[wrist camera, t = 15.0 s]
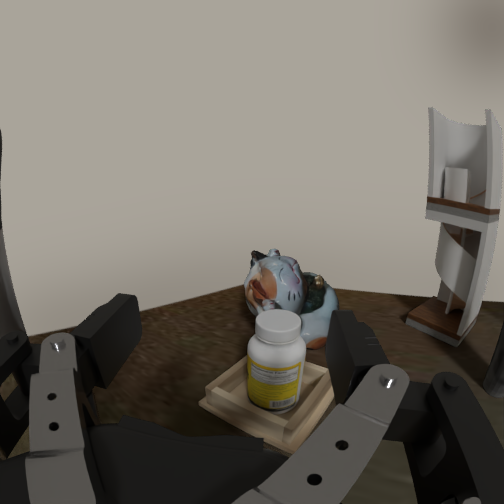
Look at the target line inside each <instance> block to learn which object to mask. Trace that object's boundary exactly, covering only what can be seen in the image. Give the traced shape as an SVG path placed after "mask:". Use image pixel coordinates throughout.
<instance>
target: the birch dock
mask: <svg viewBox="0 0 504 504" xmlns="http://www.w3.org/2000/svg"><path fill="white" fill-rule="evenodd" d="M205 391H206V397H204V398H203V399H202V400H200V401H199V406H201V407H202V408H204V409H206V410H207V411H209V412H211V413H212V414H214V415H216V416H217V417H219V418H221V419H223V420H224V421H226V422H228V423H230V424H232V425H233V426H235V427H237V428H239V429H241V430H243V431H245V432H246V433H248V434H250V435H252V436H254V437H256V438H264V442H267V443H269V444H271V445H273V446H275V447H277V448H279V449H282V450H284V451H286V452H288V453H291V454H294V453H295V452H296V451H297V450H298V449H299V448H300V447H301V445H302V444H303V443H304V441H305V440H306V439H307V437H308V436H309V434H310V433H311V431H312V430H313V429H314V427H315V426H316V424H317V423H318V421H319V420H320V418H321V417H322V415H323V414H324V412H325V411H326V409H327V408H328V406H329V404H330V403H331V401H332V400H333V398H334V392H333V387H332V383H331V378H330V374H329V369H327V368H324V367H321V366H318V365H315V364H312V363H309V362H306V361H305V363H304V370H303V377H302V384H301V391H300V397H299V401H298V403H297V405H296V406H295V407H294V408H293V409H292V410H290V411H288V412H286V413H282V414H276V415H274V414H271V413H269V412H267V411H265V410H263V409H260V408H258V407H256V406H254V405H252V404H250V403H249V400H248V394H247V355H246V356H245V357H244V358H243V359H241V360H240V361H239V362H238V363H236V364H235V365H234V366H232V367H231V368H230V369H229V370H227V371H226V372H225V373H223V374H222V375H221V376H219V377H218V378H217V379H215V380H214V381H213V382H211V383H210V384H209V385H207V386H206V387H205Z"/></svg>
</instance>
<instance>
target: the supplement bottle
mask: <svg viewBox="0 0 504 504" xmlns="http://www.w3.org/2000/svg"><path fill="white" fill-rule="evenodd" d="M300 331H301V319H300V317H299V316H298V315H297V314H295V313H293V312H291V311H287V310H281V309H273V310H267V311H264V312H262V313H260V314H259V315H258V316H257V317H256V323H255V333H256V334H255V335H253V336H252V337H251V339H250V340H249V343H248V349H247V394H248V400H249V403H250V404H252V405H254V406H256V407H258V408H260V409H263V410H265V411H267V412H269V413H271V414H274V415H276V414H282V413H286V412H288V411H290V410H292V409H293V408H294V407H295V406H296V405H297V403H298V401H299V397H300V391H301V384H302V377H303V370H304V363H305V356H306V344H305V342H304V340H303V338H302V337H301V336H300Z"/></svg>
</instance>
